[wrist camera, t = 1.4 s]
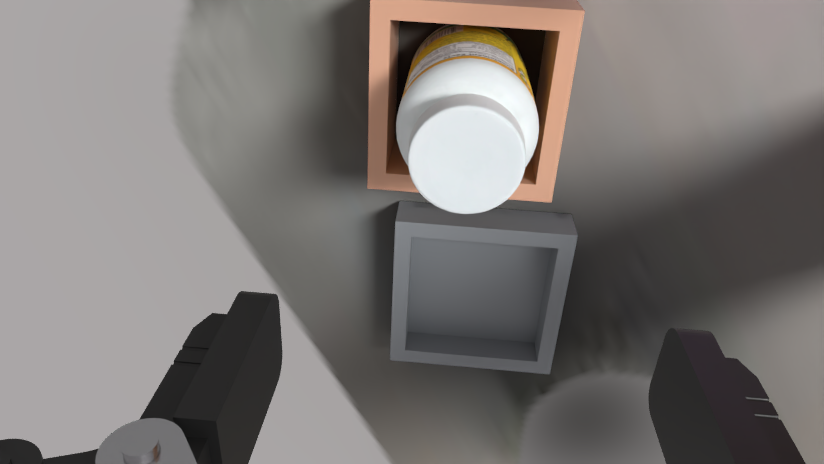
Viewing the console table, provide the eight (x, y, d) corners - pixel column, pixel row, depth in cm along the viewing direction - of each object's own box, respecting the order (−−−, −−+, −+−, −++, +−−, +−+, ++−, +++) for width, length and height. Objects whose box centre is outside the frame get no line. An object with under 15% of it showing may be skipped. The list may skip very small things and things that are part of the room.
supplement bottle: (427, 3, 28) (409, 62, 20) (543, 37, 29) (573, 108, 20) (397, 116, 31) (371, 209, 23) (504, 145, 31) (516, 247, 23)
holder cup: (570, -8, 28) (584, 10, 24) (542, 165, 32) (551, 202, 28) (382, -20, 28) (370, -3, 25) (378, 153, 32) (367, 188, 29)
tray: (571, 214, 33) (577, 235, 31) (545, 348, 37) (549, 374, 35) (399, 200, 33) (395, 221, 31) (393, 335, 38) (389, 360, 36)
